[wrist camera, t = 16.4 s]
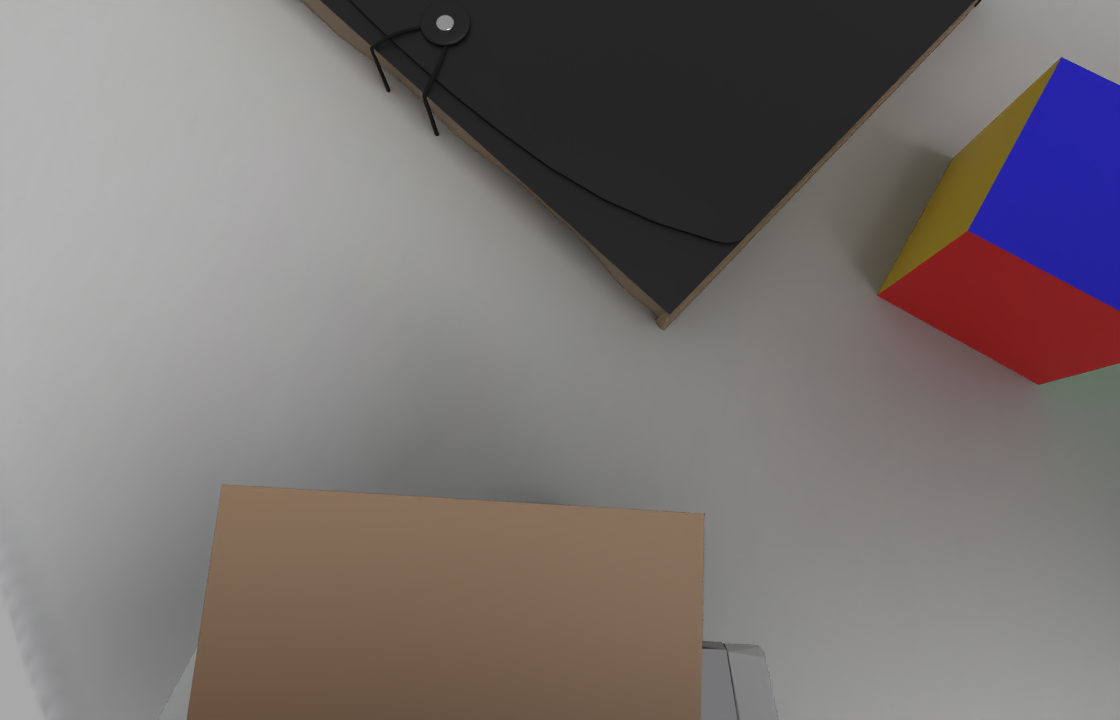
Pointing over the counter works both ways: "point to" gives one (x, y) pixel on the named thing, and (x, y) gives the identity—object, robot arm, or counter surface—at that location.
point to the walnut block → (447, 610)
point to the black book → (652, 107)
